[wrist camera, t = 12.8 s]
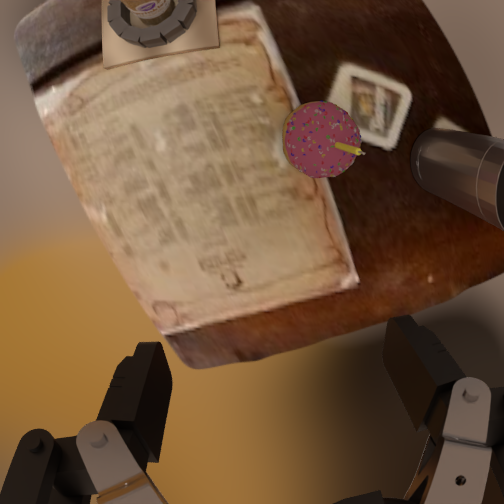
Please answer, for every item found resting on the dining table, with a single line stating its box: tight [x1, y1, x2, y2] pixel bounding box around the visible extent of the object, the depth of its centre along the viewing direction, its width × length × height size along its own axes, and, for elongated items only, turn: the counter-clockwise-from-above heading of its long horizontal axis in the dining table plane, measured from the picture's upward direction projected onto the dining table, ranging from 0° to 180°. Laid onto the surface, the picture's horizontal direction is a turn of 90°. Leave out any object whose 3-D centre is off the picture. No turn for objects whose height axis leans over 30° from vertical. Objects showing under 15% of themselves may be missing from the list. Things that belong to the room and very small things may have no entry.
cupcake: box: [282, 101, 365, 178], centre depth 31 cm, size 9×8×12 cm
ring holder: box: [102, 0, 219, 69], centre depth 27 cm, size 14×12×5 cm
